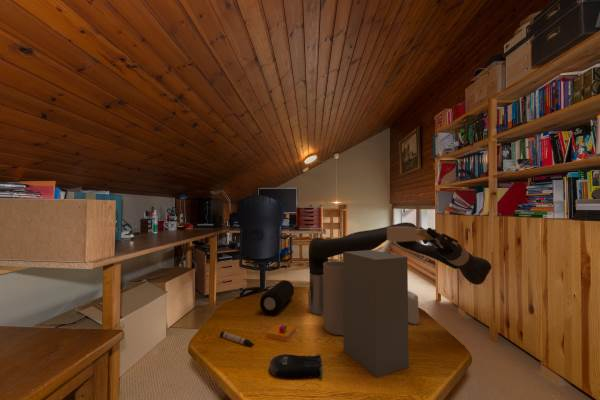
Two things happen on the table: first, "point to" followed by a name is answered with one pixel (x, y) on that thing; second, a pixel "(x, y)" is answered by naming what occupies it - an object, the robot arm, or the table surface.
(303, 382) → the table surface
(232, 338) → the marker
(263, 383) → the table surface
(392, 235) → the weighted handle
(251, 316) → the table surface
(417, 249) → the robot arm
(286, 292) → the portable speaker
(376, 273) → the tall shelf
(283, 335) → the orange wooden platform
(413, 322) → the photo printer
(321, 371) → the electronic device
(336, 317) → the cylinder vase
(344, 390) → the table surface
